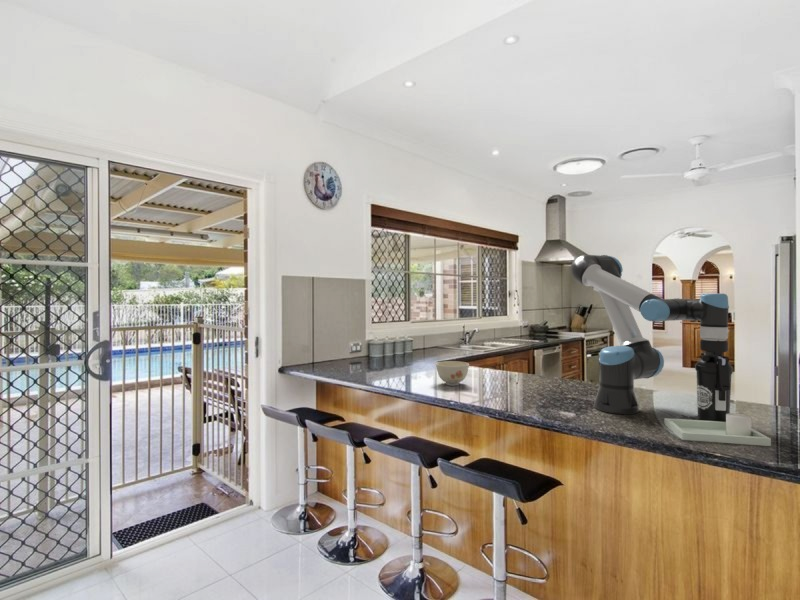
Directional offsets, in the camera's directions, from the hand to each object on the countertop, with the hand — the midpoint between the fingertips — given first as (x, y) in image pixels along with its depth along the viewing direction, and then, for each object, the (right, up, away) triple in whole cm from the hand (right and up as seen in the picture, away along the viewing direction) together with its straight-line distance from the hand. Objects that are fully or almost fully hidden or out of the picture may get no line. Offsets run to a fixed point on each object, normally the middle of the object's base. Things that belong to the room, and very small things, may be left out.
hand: (713, 406), depth 143 cm
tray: (-10, -6, -13) cm, 17 cm away
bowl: (-80, -5, +63) cm, 102 cm away
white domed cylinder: (-3, -5, -15) cm, 16 cm away
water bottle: (0, -6, 0) cm, 6 cm away
